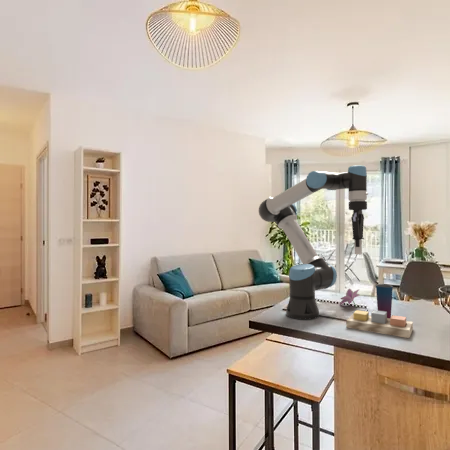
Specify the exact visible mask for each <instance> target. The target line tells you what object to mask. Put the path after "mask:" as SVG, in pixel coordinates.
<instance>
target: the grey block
mask: <svg viewBox="0 0 450 450" xmlns="http://www.w3.org/2000/svg"><path fill="white" fill-rule="evenodd" d="M370 316H371V322H375V323H382V324H386V322H387V312H385V311H378V309H373V310H372V312H371V315H370Z"/></svg>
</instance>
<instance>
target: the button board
mask: <svg viewBox="0 0 450 450" xmlns="http://www.w3.org/2000/svg"><path fill="white" fill-rule="evenodd" d="M345 325H346V327H345V328H348V329H353V330H354V329H355V330H360V331H365V332H371V333H377V334H382V335H388V336H389V335H390V336H394V337H399V338H400V337H401V338H405V339H407V338H408V339H410V338H411V336H412V333H413V330H414V321H409V320H406V327H401V326H395V325H390V318H387V322H386V324H382V323H375V322H371V315H369V319H368V320H367V321H363V320H356V319H354V317H353V314H351V315H350V316H349V317H347V319H346V324H345Z"/></svg>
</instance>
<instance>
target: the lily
mask: <svg viewBox="0 0 450 450" xmlns="http://www.w3.org/2000/svg"><path fill="white" fill-rule="evenodd" d="M359 291H360V289H356V290H354V291H353V290H352V289H351V288H348V289H347V290H346V293H345V295H344V296H342V297H340V299H341V301H340V303H339V306H342V305H344V303H348V304H349V305H351V304H352V303H353V304H354V306H355V309H357V305H356V303H355V301H354V299H355V298H357V297H359V296H360V294H359ZM350 303H351V304H350Z"/></svg>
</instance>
